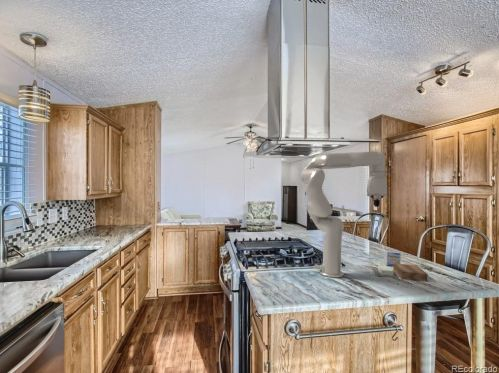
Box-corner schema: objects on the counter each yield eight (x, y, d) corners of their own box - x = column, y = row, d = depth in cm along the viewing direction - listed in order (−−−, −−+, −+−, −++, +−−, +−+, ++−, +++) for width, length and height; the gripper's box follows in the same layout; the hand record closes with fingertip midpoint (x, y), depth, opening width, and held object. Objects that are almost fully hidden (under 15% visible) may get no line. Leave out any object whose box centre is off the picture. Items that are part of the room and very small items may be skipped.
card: (393, 271, 149) (393, 275, 149) (389, 266, 158) (389, 270, 158) (381, 270, 151) (381, 274, 151) (378, 265, 159) (377, 269, 159)
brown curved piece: (401, 279, 145) (402, 271, 145) (393, 270, 160) (393, 263, 160) (427, 281, 142) (427, 273, 142) (416, 272, 158) (416, 265, 158)
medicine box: (386, 266, 168) (386, 252, 168) (384, 264, 173) (385, 250, 173) (400, 267, 167) (400, 253, 166) (398, 265, 171) (398, 251, 171)
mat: (377, 276, 149) (377, 275, 149) (371, 268, 162) (371, 268, 162) (399, 278, 146) (399, 277, 146) (392, 270, 160) (392, 269, 160)
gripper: (389, 175, 161) (388, 206, 161) (362, 175, 164) (361, 205, 164) (393, 175, 153) (392, 207, 153) (364, 174, 157) (363, 206, 157)
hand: (376, 206), depth 159 cm, fingers closed
